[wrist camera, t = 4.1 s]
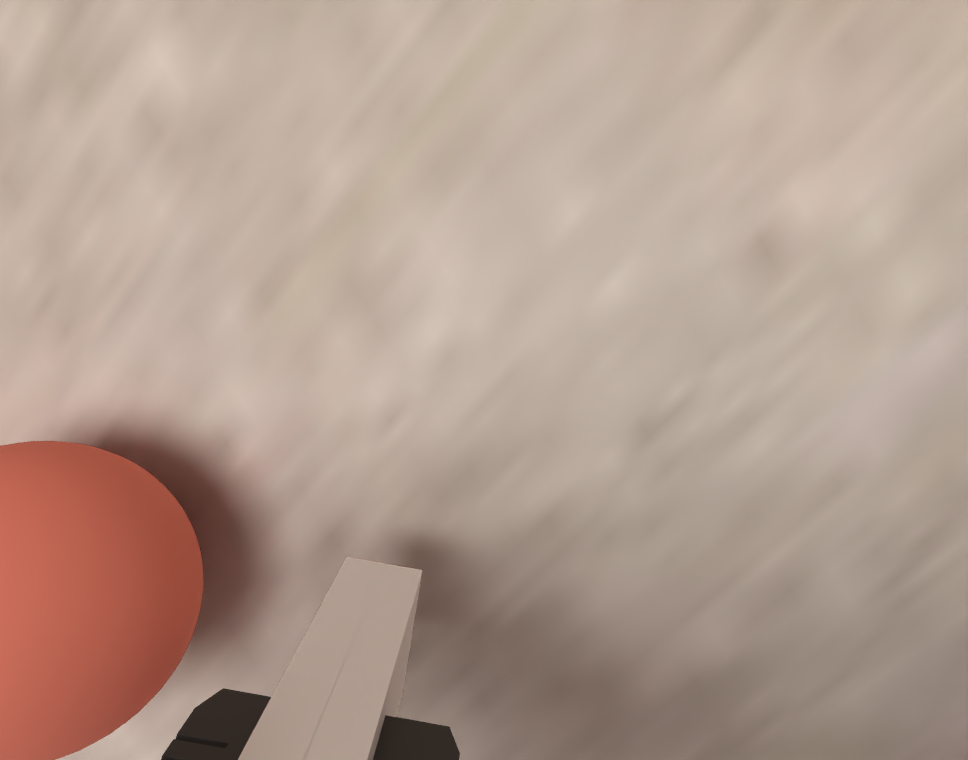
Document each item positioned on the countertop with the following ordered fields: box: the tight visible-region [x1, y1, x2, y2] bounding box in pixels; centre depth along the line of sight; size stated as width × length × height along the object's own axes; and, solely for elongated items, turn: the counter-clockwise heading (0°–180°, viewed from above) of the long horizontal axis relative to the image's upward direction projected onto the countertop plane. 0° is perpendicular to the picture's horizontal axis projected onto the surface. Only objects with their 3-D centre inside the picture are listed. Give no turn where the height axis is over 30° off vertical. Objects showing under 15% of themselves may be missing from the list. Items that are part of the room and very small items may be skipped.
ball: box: [0, 441, 203, 760], centre depth 14 cm, size 6×6×6 cm
